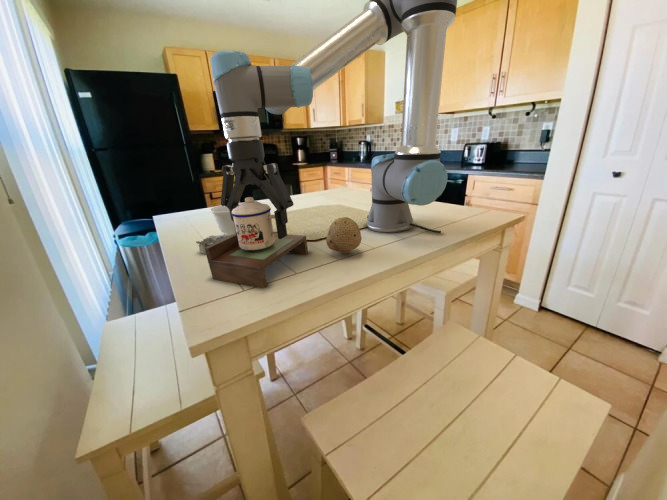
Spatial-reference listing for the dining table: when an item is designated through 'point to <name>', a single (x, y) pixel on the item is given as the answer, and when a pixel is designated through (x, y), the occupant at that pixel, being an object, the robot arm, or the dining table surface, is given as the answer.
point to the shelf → (249, 259)
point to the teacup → (224, 219)
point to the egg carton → (210, 242)
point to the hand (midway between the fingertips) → (261, 235)
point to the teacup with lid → (253, 225)
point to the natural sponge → (343, 235)
